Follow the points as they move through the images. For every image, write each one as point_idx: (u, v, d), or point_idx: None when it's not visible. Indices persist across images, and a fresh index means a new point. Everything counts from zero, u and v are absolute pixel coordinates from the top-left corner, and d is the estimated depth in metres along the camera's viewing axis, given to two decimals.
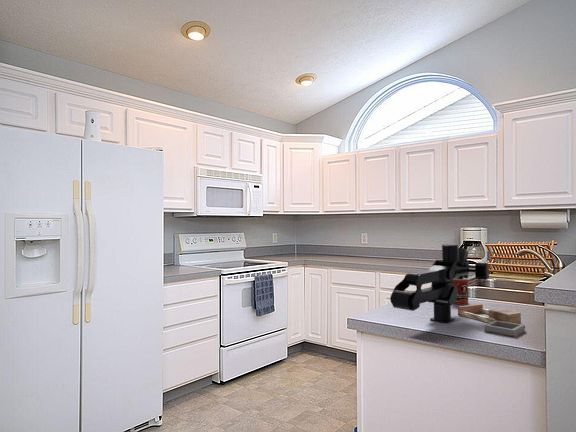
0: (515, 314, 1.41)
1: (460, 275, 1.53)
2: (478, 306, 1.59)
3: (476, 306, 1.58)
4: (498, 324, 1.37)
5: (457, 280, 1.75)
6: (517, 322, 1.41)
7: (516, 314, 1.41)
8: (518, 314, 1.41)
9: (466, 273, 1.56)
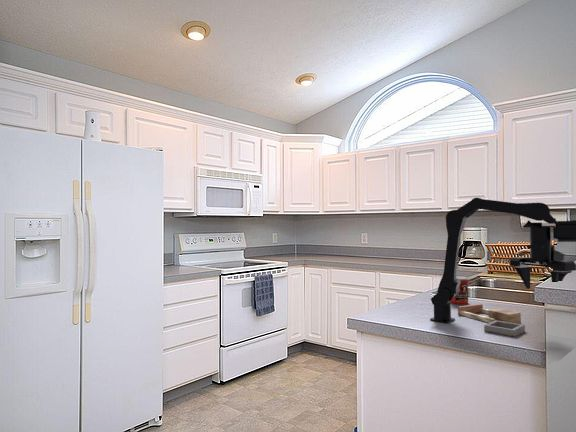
0: (515, 314, 1.41)
1: (535, 241, 1.30)
2: (478, 306, 1.59)
3: (476, 306, 1.58)
4: (498, 324, 1.37)
5: None
6: (517, 322, 1.41)
7: (516, 314, 1.41)
8: (518, 314, 1.41)
9: (546, 256, 1.29)
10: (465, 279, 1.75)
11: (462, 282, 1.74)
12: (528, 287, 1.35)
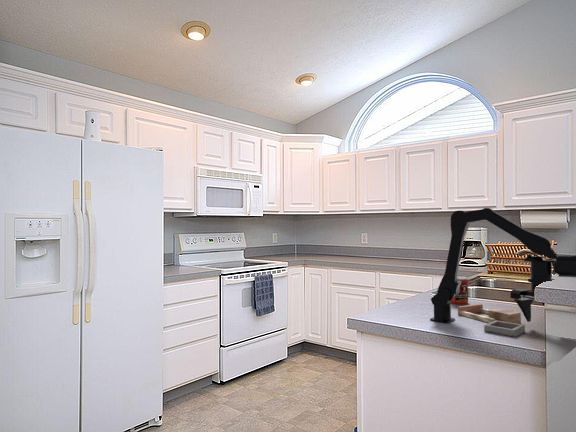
0: (515, 314, 1.41)
1: (536, 275, 1.30)
2: (478, 306, 1.59)
3: (476, 306, 1.58)
4: (498, 324, 1.37)
5: None
6: (517, 322, 1.41)
7: (516, 314, 1.41)
8: (518, 314, 1.41)
9: None
10: (465, 279, 1.75)
11: (462, 282, 1.74)
12: (529, 320, 1.35)
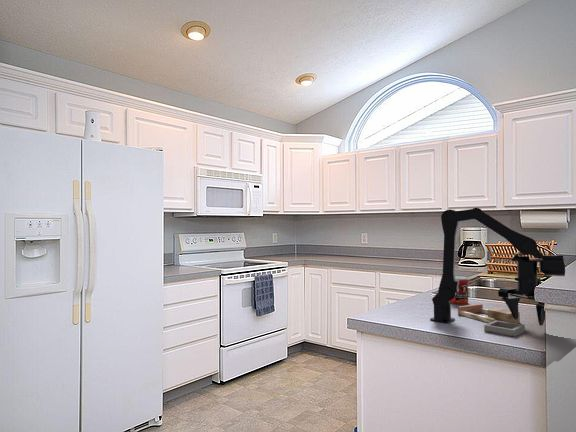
0: None
1: (523, 274, 1.34)
2: (478, 306, 1.59)
3: (476, 306, 1.58)
4: (498, 324, 1.37)
5: None
6: (516, 321, 1.42)
7: None
8: None
9: (532, 289, 1.33)
10: (465, 279, 1.75)
11: (462, 282, 1.74)
12: (516, 318, 1.40)
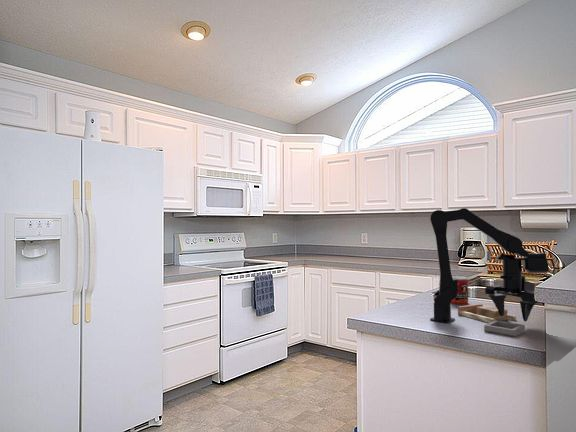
0: None
1: (509, 272, 1.39)
2: (478, 306, 1.59)
3: (476, 306, 1.58)
4: (498, 324, 1.37)
5: (457, 280, 1.75)
6: (504, 319, 1.47)
7: None
8: (505, 311, 1.47)
9: (517, 286, 1.38)
10: (465, 279, 1.75)
11: (462, 282, 1.74)
12: (502, 314, 1.45)
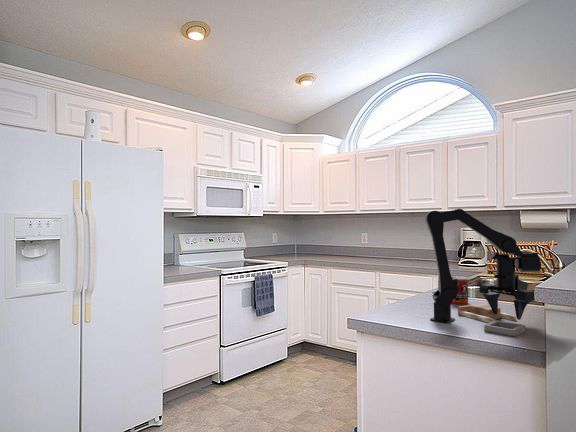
0: None
1: (503, 272, 1.41)
2: None
3: None
4: (498, 324, 1.37)
5: (457, 280, 1.75)
6: (497, 317, 1.49)
7: None
8: (498, 309, 1.49)
9: (510, 285, 1.41)
10: (465, 279, 1.75)
11: (462, 282, 1.74)
12: (495, 313, 1.47)
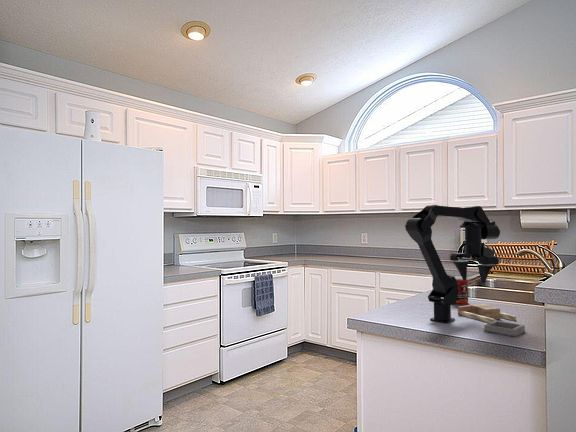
0: (493, 309, 1.48)
1: (475, 239, 1.51)
2: None
3: None
4: (498, 324, 1.37)
5: (457, 280, 1.75)
6: (496, 317, 1.49)
7: (494, 309, 1.49)
8: (497, 309, 1.49)
9: (476, 252, 1.50)
10: None
11: (462, 282, 1.74)
12: (464, 279, 1.57)
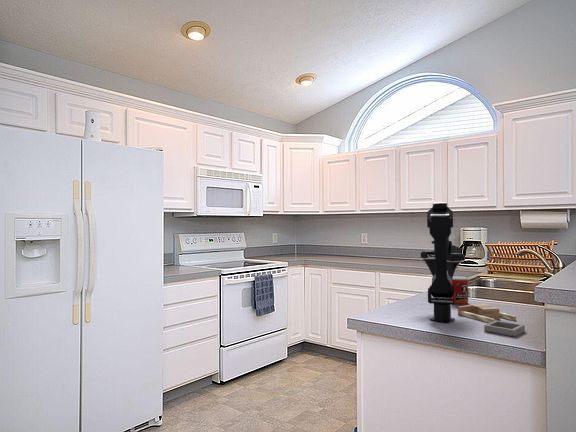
0: (492, 309, 1.48)
1: (448, 237, 1.63)
2: None
3: None
4: (498, 324, 1.37)
5: (457, 280, 1.75)
6: (495, 317, 1.48)
7: (493, 309, 1.48)
8: (496, 310, 1.48)
9: None
10: (465, 279, 1.75)
11: (462, 282, 1.74)
12: (434, 275, 1.69)
